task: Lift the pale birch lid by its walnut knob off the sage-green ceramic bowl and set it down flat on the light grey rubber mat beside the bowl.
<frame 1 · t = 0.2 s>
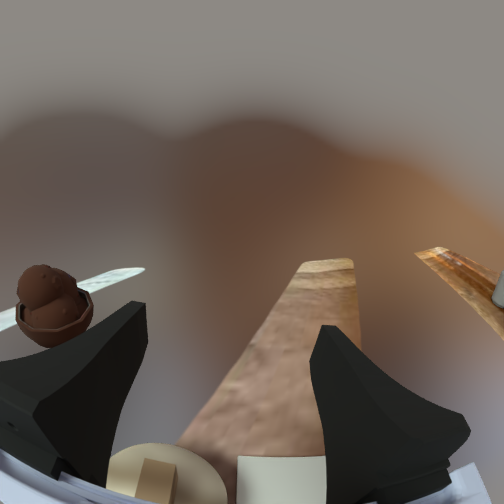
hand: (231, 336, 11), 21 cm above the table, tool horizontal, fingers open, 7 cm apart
can: (498, 304, 66), on the table
ice cream bowl: (68, 363, 31), on the table
lid: (161, 495, 16), point 3 cm above the table, touching bowl
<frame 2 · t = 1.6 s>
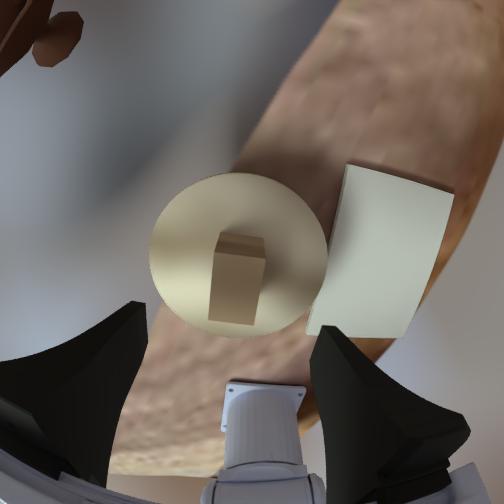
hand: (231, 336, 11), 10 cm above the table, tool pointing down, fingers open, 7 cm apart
ice cream bowl: (58, 38, 14), on the table
mat: (382, 263, 22), on the table
lid: (237, 261, 18), point 3 cm above the table, touching bowl
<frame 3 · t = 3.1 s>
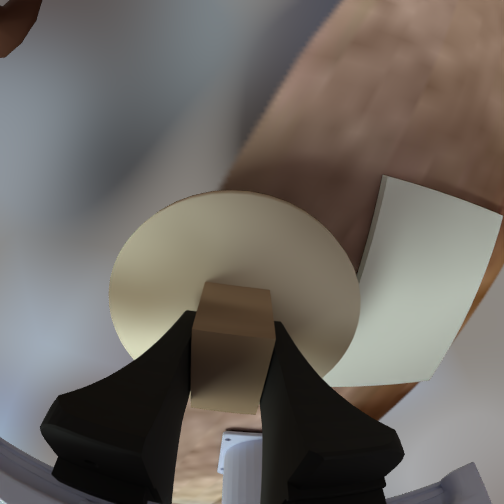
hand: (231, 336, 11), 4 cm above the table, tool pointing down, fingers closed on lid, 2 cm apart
ice cream bowl: (15, 23, 8), on the table
mat: (417, 301, 16), on the table
lid: (232, 316, 12), point 3 cm above the table, touching bowl, gripper
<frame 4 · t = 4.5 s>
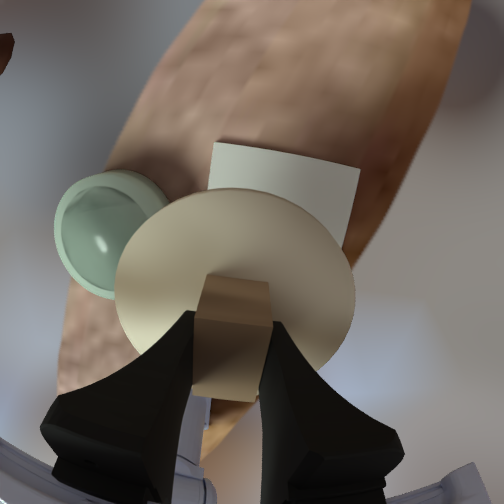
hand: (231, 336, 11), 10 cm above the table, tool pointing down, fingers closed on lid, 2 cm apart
mat: (271, 249, 21), on the table
lid: (233, 308, 13), point 8 cm above the table, touching gripper
bowl: (120, 228, 20), on the table
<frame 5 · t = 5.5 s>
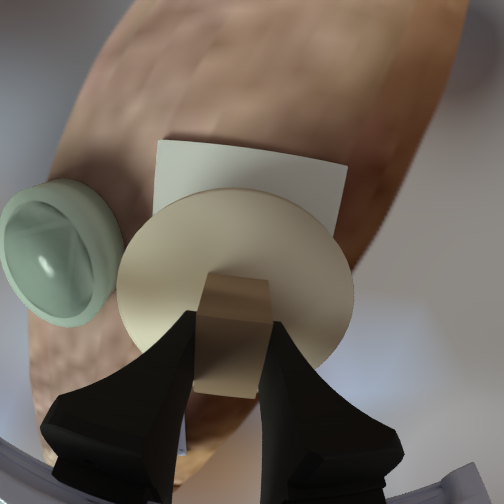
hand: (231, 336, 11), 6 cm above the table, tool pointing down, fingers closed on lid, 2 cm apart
mat: (236, 269, 17), on the table
lid: (233, 306, 13), point 4 cm above the table, touching gripper
bowl: (67, 245, 16), on the table
when the fingers open (3 cm above the table, at t = 6.3 s): lid stays where it is, resting on mat.
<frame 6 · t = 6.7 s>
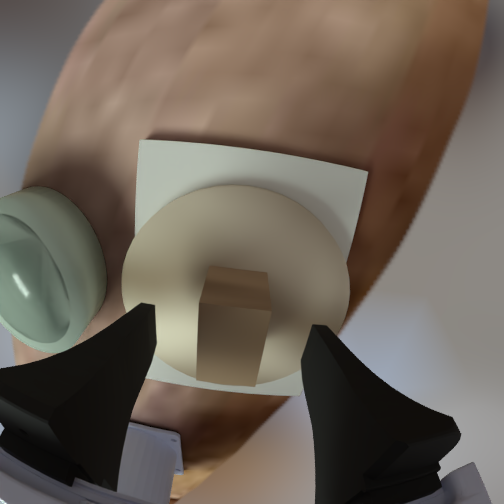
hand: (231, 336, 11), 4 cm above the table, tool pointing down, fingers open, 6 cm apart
mat: (235, 292, 14), on the table
lid: (234, 298, 14), point 1 cm above the table, touching mat
bowl: (45, 261, 14), on the table
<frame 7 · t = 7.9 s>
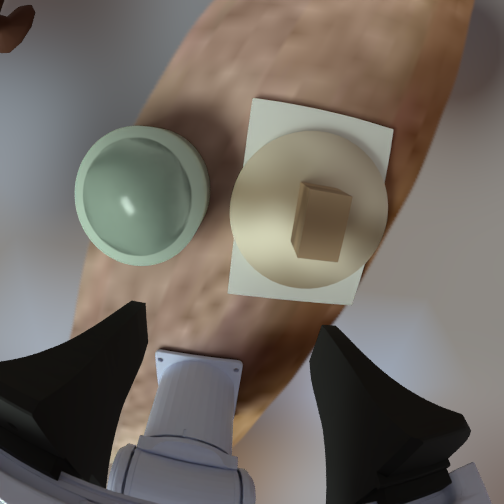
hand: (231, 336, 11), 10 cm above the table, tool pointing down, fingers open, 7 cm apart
ice cream bowl: (16, 29, 13), on the table
mat: (309, 209, 20), on the table
lid: (311, 211, 19), point 1 cm above the table, touching mat
bowl: (148, 190, 19), on the table
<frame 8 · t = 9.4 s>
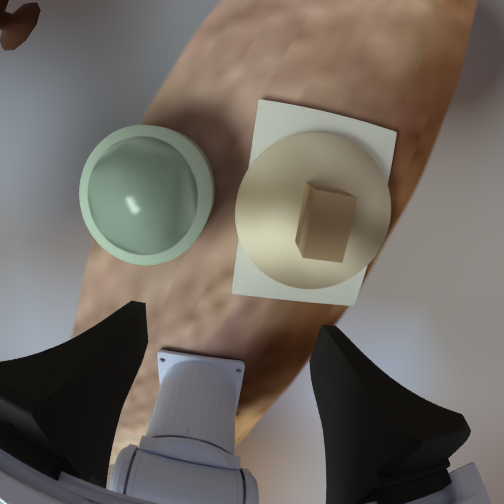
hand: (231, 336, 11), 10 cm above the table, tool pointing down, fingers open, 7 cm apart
ice cream bowl: (21, 26, 13), on the table
mat: (314, 210, 20), on the table
lid: (315, 212, 19), point 1 cm above the table, touching mat
bowl: (153, 189, 19), on the table
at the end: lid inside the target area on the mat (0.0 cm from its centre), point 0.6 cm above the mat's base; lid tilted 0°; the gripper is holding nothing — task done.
